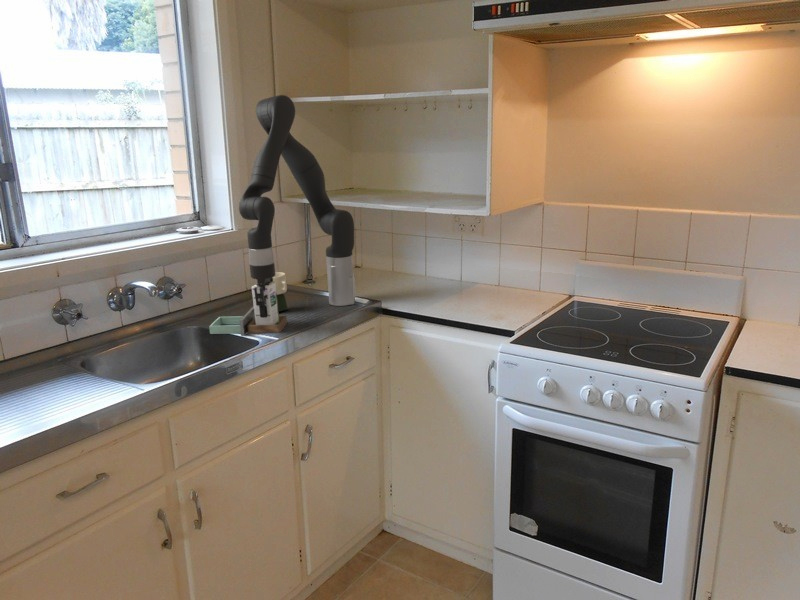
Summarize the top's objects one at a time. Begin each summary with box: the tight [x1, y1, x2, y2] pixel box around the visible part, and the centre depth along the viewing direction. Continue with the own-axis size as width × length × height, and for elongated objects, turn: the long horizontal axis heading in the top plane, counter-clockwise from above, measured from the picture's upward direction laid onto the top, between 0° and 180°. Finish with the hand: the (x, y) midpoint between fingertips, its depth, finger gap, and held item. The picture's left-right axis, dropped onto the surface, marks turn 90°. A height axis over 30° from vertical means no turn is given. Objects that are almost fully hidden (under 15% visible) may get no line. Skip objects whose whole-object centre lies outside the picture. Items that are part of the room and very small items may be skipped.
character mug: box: [273, 271, 288, 313], centre depth 214 cm, size 11×7×13 cm, turn 50°
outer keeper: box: [208, 315, 244, 335], centre depth 198 cm, size 10×10×2 cm
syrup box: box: [251, 282, 280, 325], centre depth 196 cm, size 6×6×14 cm
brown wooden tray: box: [247, 315, 288, 334], centre depth 198 cm, size 10×10×2 cm
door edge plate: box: [239, 306, 255, 337], centre depth 198 cm, size 1×15×5 cm, turn 177°
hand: (266, 313), depth 197 cm, fingers closed on syrup box, 6 cm apart
